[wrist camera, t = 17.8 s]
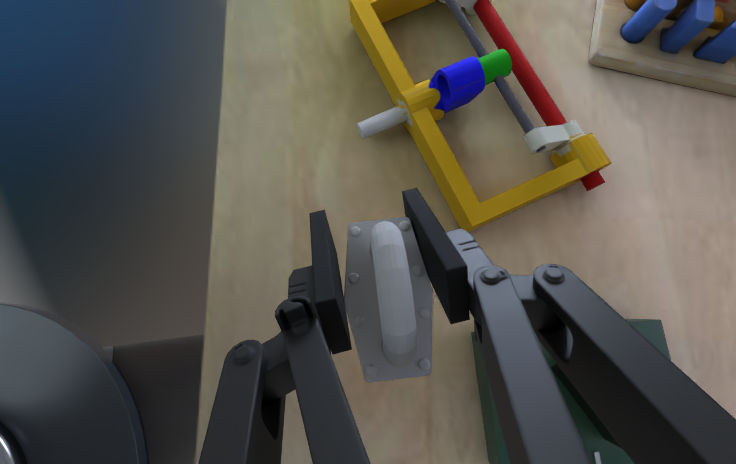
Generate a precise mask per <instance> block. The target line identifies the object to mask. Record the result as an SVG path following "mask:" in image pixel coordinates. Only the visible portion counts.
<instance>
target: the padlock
mask: <svg viewBox="0 0 736 464" xmlns="http://www.w3.org/2000/svg"><path fill="white" fill-rule="evenodd" d="M432 293H433V290H432V287H431V284H430V281H429V278H428V275H427V272H426V269H425V266H424V262H423V259H422V256H421V253H420V250H419V247H418V244H417V241H416V238H415V235H414V231H413V228H412V225H411V222H410V219H409V218H408V217H400V218H391V219H383V220H374V221H365V222H357V223H351V224H349V226H348V241H347V258H346V275H345V291H344V303H345V307H346V311H347V314H348V318H349V322H350V326H351V329H352V333H353V337H354V340H355V344H356V348H357V352H358V355H359V359H360V363H361V367H362V370H363V374H364V378H365V380H366V382H369V383H370V382H378V381H386V380H394V379H402V378H410V377H419V376H427V375H430V374H431V372H432Z"/></svg>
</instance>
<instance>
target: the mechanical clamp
mask: <svg viewBox="0 0 736 464" xmlns="http://www.w3.org/2000/svg"><path fill="white" fill-rule="evenodd" d="M436 1H438V0H349V3H350V16H351V23H352V25H353V27H354V29H355V31H356V32H357V34H358V36H359V38H360V40H361V42H362V44H363V46H364V48H365V49H366V51H367V53H368V55H369V57H370V59H371V61H372V63H373V64H374V66H375V68H376V70H377V72H378V74H379V76H380V78H381V80H382V81H383V83H384V85H385V87H386V89H387V91H388V93H389V95H390V96H391V98H392V100H393V102H394V104H395V106H396V107H395V108H392V109H390V110H387V111H385V112H383V113H380V114H378V115H376V116H373V117H371V118H369V119H366V120H364V121H362V122H359V123H357V128H358V131H359V133H360V135H361V137H362V139H365V138H367V137H370V136H372V135H374V134H377V133H379V132H381V131H384V130H386V129H388V128H391V127H393V126H395V125H398V124H400V123H402V122H403V123H404V125H405V127H406V128H407V129H408V130H409V132H410V134H411V136H412V138H413V140H414V142H415V143H416V145H417V147H418V149H419V151H420V153H421V155H422V157H423V159H424V160H425V162H426V164H427V166H428V168H429V170H430V172H431V174H432V175H433V177H434V179H435V181H436V183H437V185H438V187H439V189H440V191H441V192H442V194H443V196H444V198H445V200H446V202H447V204H448V206H449V207H450V209H451V211H452V213H453V215H454V217H455V219H456V221H457V223H458V224H459V226H460V228H461V229H463V230H465V231H467V232H470V231H472V230H474V229H476V228H479V227H481V226H483V225H485V224H487V223H489V222H492V221H494V220H496V219H498V218H500V217H502V216H505V215H507V214H509V213H511V212H513V211H515V210H517V209H520V208H522V207H524V206H526V205H528V204H530V203H533V202H535V201H537V200H539V199H541V198H543V197H545V196H548V195H550V194H552V193H554V192H556V191H558V190H561V189H563V188H565V187H567V186H569V185H572V184H574V183H576V182H579V181H581V182H582V183H583V185H584V187H585V188H586V190H587V191H589V190H591V189H593V188H595V187H597V186H599V185H601V184H603V183H605V181H604V179H603V178H602V176H601V175H600V173H599V172H598V171H600V170H602V169H603V168H605V167H607V166H608V165H610V164H611V162H610V160H609V159H608V157H607V155H606V154H605V152H604V151H603V149H602V148H601V146H600V145H599V143H598V142H597V140H596V139H595V137H594V136H593V134H592V133H590V134H586V133H583V132H582V130H581V128H580V127H579V125H578V124H577V122H576V121H575V120H571V121H569V122H566V120H565V118H564V117H563V115H562V114H561V112H560V111H559V109H558V107H557V106H556V104H555V103H554V101H553V100H552V98H551V97H550V95H549V93H548V92H547V90H546V89H545V87H544V86H543V84H542V82H541V81H540V79H539V78H538V76H537V75H536V73H535V72H534V70H533V68H532V67H531V65H530V64H529V62H528V61H527V59H526V57H525V56H524V54H523V53H522V51H521V50H520V48H519V47H518V45H517V43H516V42H515V40H514V39H513V37H512V36H511V34H510V32H509V31H508V29H507V28H506V26H505V25H504V23H503V22H502V20H501V18H500V17H499V15H498V14H497V12H496V11H495V9H494V7H493V6H492V4H491V3H490V2H491V0H439V1H440V2H443V3H447V5H448V7H449V8H450V10H451V12H452V13H453V15H454V17H455V18H456V20H457V22H458V23H459V25H460V27H461V28H462V30H463V31H464V33H465V35H466V36H467V38H468V40H469V41H470V43H471V45H472V46H473V48H474V50H475V51H476V53H477V54H478V56H479V58H478V59H477V58H475V57H473V56H471V57H468V58H466V59H464V60H461V61H459V62H457V63H454V64H452V65H449V66H447V67H445V68H442V69H440V70H438V71H437V72H436V73H435V75H434V76H433V78H432V79H431V80H430V79H427V80H425V81H423V82H420V83H418V84H416V85H415V84H414V82H413V80H412V79H411V77H410V75H409V73H408V71H407V70H406V68H405V66H404V64H403V62H402V61H401V59H400V57H399V55H398V53H397V51H396V50H395V48H394V46H393V44H392V42H391V41H390V39H389V37H388V35H387V33H386V32H385V30H384V28H383V26H382V24H381V23H384V22H386V21H389V20H391V19H394V18H396V17H399V16H401V15H404V14H406V13H409V12H411V11H414V10H416V9H418V8H421V7H423V6H426V5H428V4H431V3H433V2H436ZM459 6H460V7H464V8H465V9H466V11H467V12H468V14H469V15H476V14H477V15H478V17H479V19H480V20H481V22H482V23H483V25H484V27H485V28H486V30H487V31H488V33H489V35H490V36H491V38H492V39H493V41H494V43H495V44H496V46H497V47H498V49H499V50H497V51H495V52H492V53H490V54H488V52H487V51H486V49H485V47H484V46H483V44H482V42H481V41H480V39H479V38H478V36H477V34H476V33H475V31H474V29H473V28H472V26H471V25H470V23H469V21H468V20H467V18H466V16H465V15H464V13H463V12H462V10H461V8H460V7H459ZM511 70H512V71H513V73H514V75H515V76H516V78H517V79H518V81H519V83H520V84H521V86H522V87H523V89H524V91H525V92H526V94H527V95H528V97H529V99H530V100H531V102H532V103H533V105H534V107H535V108H536V110H537V111H538V113H539V115H540V116H541V118H542V119H543V121H544V123H545V124H546V127H538V128H534V127H533V125H532V124H531V122H530V120H529V119H528V117H527V115H526V114H525V112H524V111H523V109H522V107H521V106H520V104H519V102H518V101H517V99H516V98H515V96H514V94H513V93H512V91H511V89H510V88H509V86H508V85H507V83H506V81H505V80H504V78H503V77H506V76H508V75H509V74H510V73H511ZM492 82H495V84H496V86H497V87H498V89H499V91H500V92H501V94H502V96H503V97H504V99H505V101H506V102H507V104H508V105H509V107H510V109H511V110H512V112H513V114H514V115H515V117H516V119H517V120H518V122H519V124H520V125H521V127H522V129H523V130H524V132H525V133H526V134H525V135H524V136H523V140H524V142H525V143H526V145H527V147H528V148H529V150H530V152H531V153H532V154H534V153H539V152H544V151H549V150H553V152H552V153H553V154H552V155H551V156H550V159H551V160H552V162H553V164H554V165H555V167H556V169H554V170H551V171H549V172H547V173H545V174H543V175H540V176H538V177H536V178H534V179H532V180H530V181H527V182H525V183H523V184H521V185H519V186H516V187H514V188H512V189H510V190H508V191H506V192H503V193H501V194H499V195H497V196H495V197H492V198H490V199H488V200H486V201H484V202H482V203H480V202H479V200H478V198H477V196H476V195H475V193H474V191H473V189H472V187H471V185H470V184H469V182H468V180H467V178H466V176H465V175H464V173H463V171H462V169H461V167H460V166H459V164H458V162H457V160H456V158H455V156H454V155H453V153H452V151H451V149H450V147H449V146H448V144H447V142H446V140H445V138H444V137H443V135H442V133H441V131H440V129H439V128H438V126H437V124H436V121H438V120H440V119H442V118H443V115H444V113H446V112H449V111H451V110H453V109H456V108H458V107H460V106H463V105H465V104H467V103H469V102H470V101H471V100H472V99H474V98H475V97H476V96H477V95H478V94H479V93H481V92H482V91H483V89H484V87H485V85H487V84H489V83H492Z"/></svg>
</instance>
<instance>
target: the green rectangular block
mask: <svg viewBox="0 0 736 464" xmlns="http://www.w3.org/2000/svg"><path fill="white" fill-rule="evenodd" d="M626 321H627V322H628V323H629V324H630V325H631V326H633V327H634V328H635V329H636V330H637V331H638V332H639V333H640V334H641V335H643V336H644V337H645V338H646V339H647V340H648V341H649V342H650V343H651V344H653V345H654V346H655V347H656V348H657V349H658V350H659V351H660V352H661V353H663V354H664V355H665V356H666V357H667V358H668V359H669V360H670V361H671V359H670V355H669V351H668V347H667V343H666V339H665V334H664V330H663V326H662V322H661V320H652V319H628V320H626ZM471 334H472V341H473V348H474V356H475V363H476V371H477V378H478V385H479V393H480V400H481V408H482V415H483V422H484V430H485V437H486V445H487V452H488V459H489V463H490V464H510V460H509V456H508V452H507V449H506V445H505V441H504V437H503V433H502V430H501V426H500V422H499V418H498V414H497V411H496V407H495V403H494V399H493V396H492V392H491V388H490V384H489V380H488V377H487V373H486V369H485V365H484V362H483V358H482V354H481V350H480V346H479V343H478V341H475V332H472V333H471ZM539 343H540V342H539ZM540 345H541V347H542V350H543V352H544V354H545V357H546V359H547V361H548V363H549V366H550V368H551V367H552V366H553V365H555V364H556V362H555V361H554V360H553V358H552V357H551V356H550V355H549V353H548V352H547V351H546V349H545V348H544V347H543V346H542V344H541V343H540ZM551 370H552V369H551ZM552 373H553V375H554V377H555V379H556V382H557V384H558V386H559V389H560V391H561V393H562V395H563V398H564V400H565V402H566V405H567V407H568V409H569V412H570V414H571V416H572V418H573V421H574V423H575V425H576V428H577V430H578V432H579V434H580V437H581V439H582V441H583V444H584V446H585V448H586V450H587V453H588V455H589V457H590V460H591V462H592V464H634V463H633V461H632V460H631V459H630V458H629V456H628V455H627V454H626V452H625V451H624V450H623V449H621V448H620V447H618V446H616V445H614V444H612V443H610V442H609V441H607V440H605V439H604V438H603V436H602V435H601V434H600V432H599V431H598V430H597V428H596V427H595V426H594V424H593V423H592V422H591V420H590V419H589V418H588V416H587V415H586V414H585V412H584V411H583V410H582V409H581V407H580V406H579V405H578V403H577V402H576V401H575V399H574V398H573V397H572V395H571V394H570V393H569V391H568V390H567V389H566V387H565V386H564V385H563V383H562V382H561V381H560V379H559V378H558V377H557V375H556V374H555V373H554V371H553V370H552Z"/></svg>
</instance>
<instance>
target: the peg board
mask: <svg viewBox="0 0 736 464" xmlns="http://www.w3.org/2000/svg"><path fill="white" fill-rule="evenodd" d="M588 60H589V62H590V63H591V64H593V65H595V66H600V67H605V68H609V69H614V70H618V71H623V72H627V73H632V74H636V75H641V76H645V77H649V78H653V79H658V80H662V81H667V82H671V83H676V84H681V85H685V86H690V87H694V88H699V89H704V90H708V91H713V92H717V93H722V94H727V95H731V96H736V0H597V3H596V10H595V17H594V23H593V30H592V37H591V43H590V51H589V58H588Z"/></svg>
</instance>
